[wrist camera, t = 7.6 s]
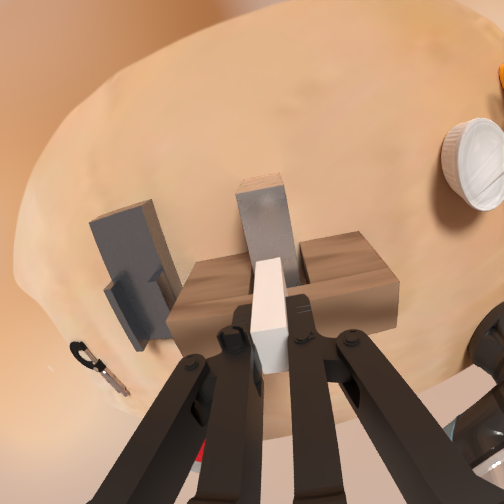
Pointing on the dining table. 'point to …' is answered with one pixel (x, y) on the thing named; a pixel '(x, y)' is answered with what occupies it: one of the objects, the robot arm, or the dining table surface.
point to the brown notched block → (290, 293)
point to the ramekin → (475, 162)
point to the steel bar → (268, 224)
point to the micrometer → (97, 367)
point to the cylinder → (501, 74)
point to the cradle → (138, 271)
